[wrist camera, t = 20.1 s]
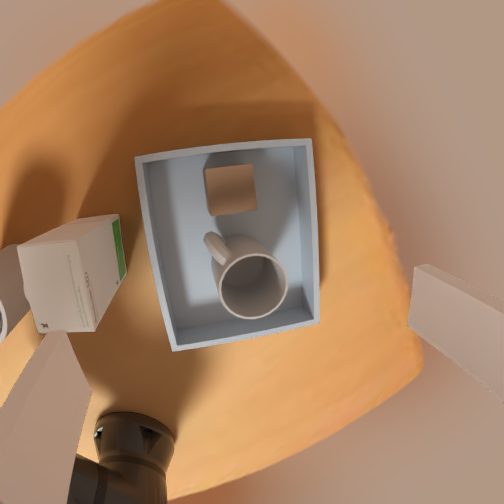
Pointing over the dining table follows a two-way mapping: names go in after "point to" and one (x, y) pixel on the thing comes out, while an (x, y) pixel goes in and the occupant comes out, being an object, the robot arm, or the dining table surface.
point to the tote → (243, 223)
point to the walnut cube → (230, 189)
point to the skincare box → (73, 273)
